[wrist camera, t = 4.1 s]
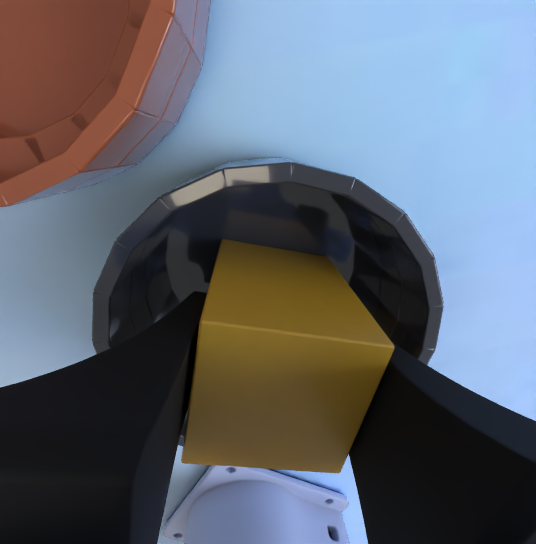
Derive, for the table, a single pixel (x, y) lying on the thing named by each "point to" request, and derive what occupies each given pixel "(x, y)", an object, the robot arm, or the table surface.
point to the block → (281, 363)
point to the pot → (272, 233)
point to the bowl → (90, 87)
